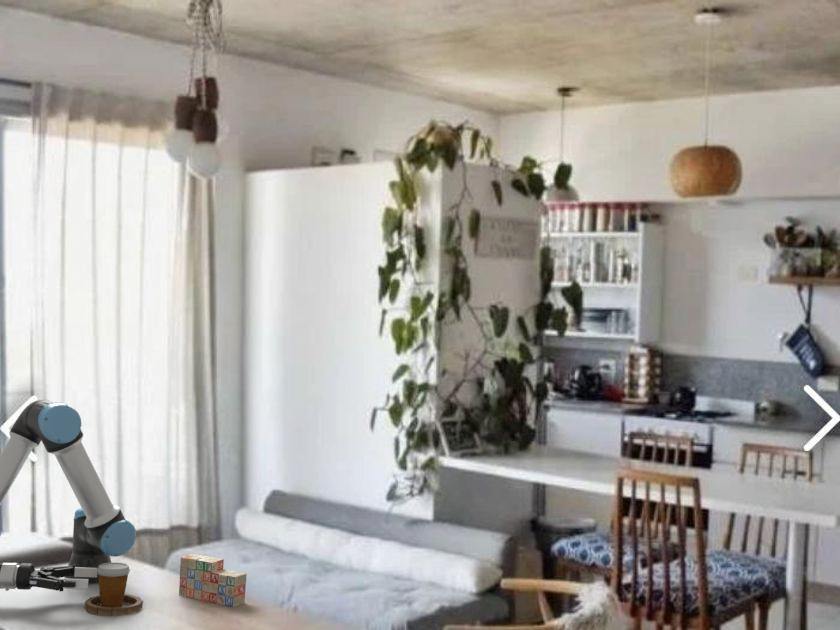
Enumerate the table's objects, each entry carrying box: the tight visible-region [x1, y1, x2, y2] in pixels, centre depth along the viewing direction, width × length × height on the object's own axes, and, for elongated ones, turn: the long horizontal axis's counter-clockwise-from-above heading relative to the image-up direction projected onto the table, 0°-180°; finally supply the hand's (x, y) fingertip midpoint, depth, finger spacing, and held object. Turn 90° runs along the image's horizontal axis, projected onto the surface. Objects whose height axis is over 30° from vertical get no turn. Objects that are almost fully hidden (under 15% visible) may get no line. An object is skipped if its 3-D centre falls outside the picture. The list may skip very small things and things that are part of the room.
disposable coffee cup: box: [97, 562, 131, 607], centre depth 310 cm, size 10×10×12 cm
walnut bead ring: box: [84, 593, 144, 617], centre depth 308 cm, size 16×16×2 cm
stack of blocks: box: [178, 553, 248, 608], centre depth 324 cm, size 21×6×12 cm, turn 63°
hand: (92, 578), depth 308 cm, fingers open, 13 cm apart
